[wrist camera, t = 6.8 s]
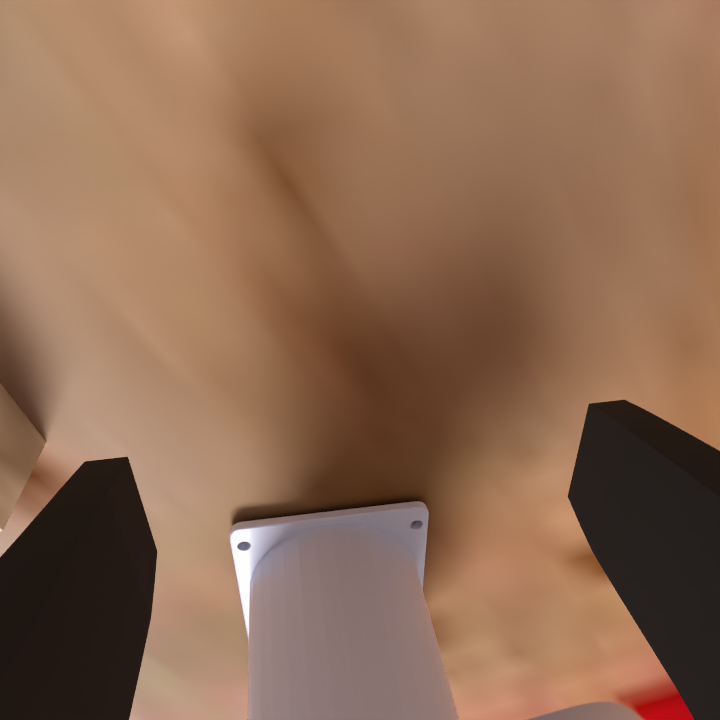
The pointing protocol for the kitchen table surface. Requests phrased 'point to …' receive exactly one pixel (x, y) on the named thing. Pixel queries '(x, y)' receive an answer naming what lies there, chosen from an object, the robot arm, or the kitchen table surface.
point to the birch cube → (15, 453)
